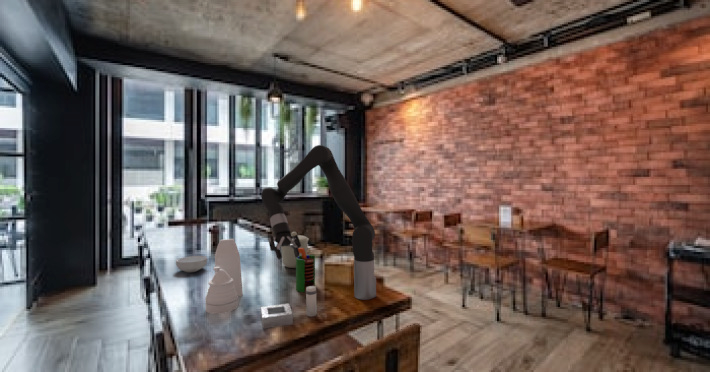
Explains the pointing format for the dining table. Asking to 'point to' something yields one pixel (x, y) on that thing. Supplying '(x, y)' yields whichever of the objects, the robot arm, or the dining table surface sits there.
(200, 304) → the dining table surface
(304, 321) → the dining table surface
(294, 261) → the canister
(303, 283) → the motor
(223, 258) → the tall white vase
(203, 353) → the dining table surface
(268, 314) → the box
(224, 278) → the honey pot
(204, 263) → the cereal bowl
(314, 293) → the plug
